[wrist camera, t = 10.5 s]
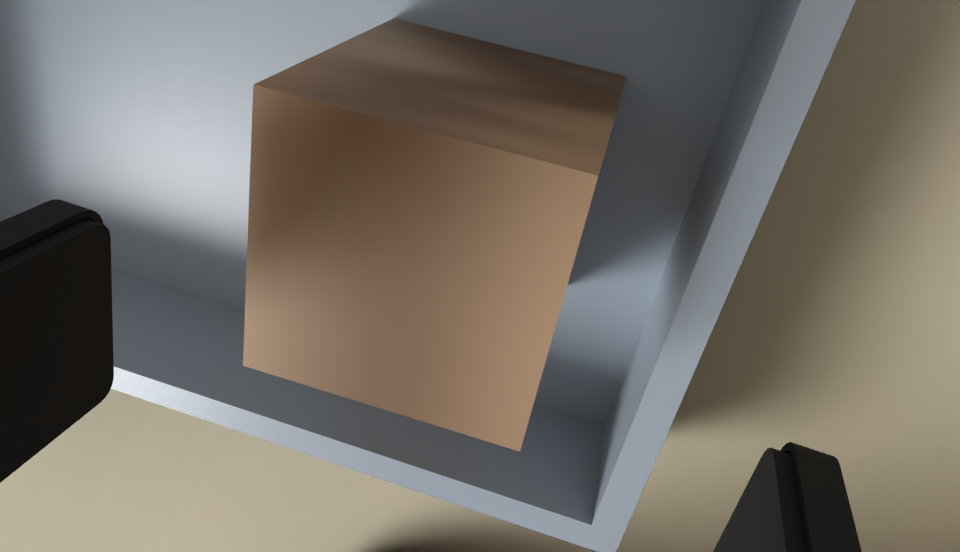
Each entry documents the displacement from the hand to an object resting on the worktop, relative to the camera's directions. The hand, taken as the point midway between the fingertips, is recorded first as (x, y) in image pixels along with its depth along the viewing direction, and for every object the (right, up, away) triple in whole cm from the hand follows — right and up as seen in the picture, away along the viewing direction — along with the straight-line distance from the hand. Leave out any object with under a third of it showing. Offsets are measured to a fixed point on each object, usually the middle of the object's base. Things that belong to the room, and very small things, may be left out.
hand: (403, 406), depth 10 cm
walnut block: (+1, +4, +7) cm, 8 cm away
